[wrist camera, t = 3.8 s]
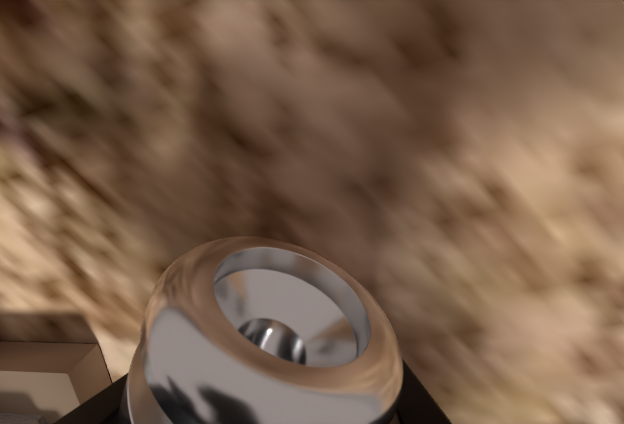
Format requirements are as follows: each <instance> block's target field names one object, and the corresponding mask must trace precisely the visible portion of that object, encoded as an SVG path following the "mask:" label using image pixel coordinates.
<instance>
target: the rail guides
mask: <svg viewBox="0 0 624 424" xmlns="http://www.w3.org/2000/svg"><path fill="white" fill-rule="evenodd" d="M0 424H47V423H46V421H45V419H44V417H43V415H28V414H12V413H0Z"/></svg>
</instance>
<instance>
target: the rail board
mask: <svg viewBox="0 0 624 424" xmlns="http://www.w3.org/2000/svg"><path fill="white" fill-rule="evenodd" d="M111 384H112V383H111V380H110V377H109V374H108V371H107V368H106V366H105V363H104V360H103V357H102V354H101V351H100V348H99V345H98V344H77V343H43V342H10V341H0V413H12V414H28V415H43V417H44V419H45V421H46V423H47V424H52V423H54V422H55V421H57V420H58V419H60V418H61V417H63V416H64V415H66V414H67V413H69V412H70V411H72V410H73V409H75V408H76V407H78V406H79V405H81V404H82V403H84V402H85V401H87V400H88V399H90V398H91V397H93V396H94V395H96V394H97V393H99V392H100V391H102V390H103V389H105V388H106V387H108V386H109V385H111Z"/></svg>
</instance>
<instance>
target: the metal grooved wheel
mask: <svg viewBox="0 0 624 424" xmlns="http://www.w3.org/2000/svg"><path fill="white" fill-rule="evenodd" d="M402 387H403V361H402V355H401V350H400V346H399V343H398V340H397V337H396V334H395V332H394V330H393V327H392V325H391V323H390V321H389V320H388V318H387V316H386V314H385V313H384V311H383V310H382V308H381V307H380V305H379V304H378V303H377V301H376V300H375V299H374V298H373V297H372V295H371V294H370V293H369V292H368V291H367V290H366V289H365V288H364V287H363V286H362V285H361V284H360V283H359V282H358V281H357V280H356V279H354V278H353V277H352V276H351V275H349V274H348V273H347V272H346V271H344V270H343V269H341V268H340V267H339V266H337V265H336V264H334V263H332V262H331V261H329V260H327V259H326V258H324V257H322V256H320V255H318V254H316V253H314V252H312V251H310V250H307V249H305V248H302V247H300V246H297V245H294V244H291V243H288V242H284V241H280V240H276V239H270V238H264V237H254V236H237V237H228V238H222V239H217V240H213V241H210V242H207V243H204V244H202V245H199V246H197V247H195V248H193V249H191V250H190V251H188V252H186V253H185V254H183V255H182V256H180V257H179V258H178V259H177V260H175V261H174V262H173V263H172V264H171V265H170V266H169V267H168V268H167V269H166V271H165V272H164V273H163V274H162V275H161V277H160V278H159V280H158V281H157V283H156V285H155V286H154V288H153V290H152V292H151V295H150V297H149V300H148V302H147V306H146V309H145V313H144V317H143V320H142V325H141V330H140V342H139V344H138V346H137V348H136V351H135V353H134V356H133V358H132V362H131V365H130V369H129V373H128V376H127V380H126V384H125V388H124V391H123V395H122V399H121V404H120V409H119V418H118V424H390V423H391V421H392V420H393V418H394V415H395V413H396V411H397V408H398V405H399V402H400V398H401V394H402Z"/></svg>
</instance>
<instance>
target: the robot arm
mask: <svg viewBox="0 0 624 424" xmlns="http://www.w3.org/2000/svg"><path fill="white" fill-rule="evenodd" d="M402 361H403V387H402V394H401V398H400V402H399V405H398V408H397V411H396V413H395V415H394V418H393V420H392V421H391V423H390V424H452V423H451V422H450V420H449V419H448V418H447V416H446V415H445V414H444V412H443V411H442V410H441V409H440V407H439V406H438V405H437V403H436V402H435V401H434V399H433V398H432V397H431V395H430V394H429V393H428V392H427V390H426V389H425V388H424V386H423V385H422V384H421V382H420V381H419V380H418V378H417V377H416V376H415V375H414V373H413V372H412V371H411V369H410V368H409V367H408V365H407V364H406V363H405V361H404V360H403V359H402ZM127 376H128V373H127V374H126V375H124V376H123V377H121V378H120V379H118V380H117V381H115V382H114V383H112V384H111V385H109V386H108V387H106V388H105V389H103V390H102V391H100V392H99V393H97V394H96V395H94V396H93V397H91V398H90V399H88V400H87V401H85V402H84V403H82V404H81V405H79V406H78V407H76V408H75V409H73V410H72V411H70V412H69V413H67V414H66V415H64V416H63V417H61V418H60V419H58V420H57V421H55V422H54V423H52V424H118V418H119V409H120V404H121V399H122V395H123V391H124V388H125V384H126V380H127Z"/></svg>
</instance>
